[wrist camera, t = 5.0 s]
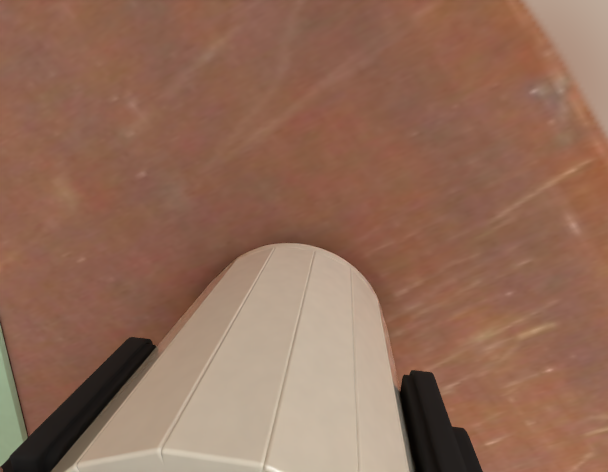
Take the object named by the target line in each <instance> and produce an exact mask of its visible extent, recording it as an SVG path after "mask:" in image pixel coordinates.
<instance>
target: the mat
mask: <svg viewBox="0 0 608 472" xmlns="http://www.w3.org/2000/svg"><path fill="white" fill-rule="evenodd" d="M27 438H28V436H27V432H26V428H25V424H24V420H23V416H22V412H21V407H20V403H19V399H18V395H17V391H16V387H15V383H14V379H13V375H12V370H11V366H10V362H9V358H8V354H7V350H6V346H5V342H4V337H3V333H2V329H1V325H0V467H1V466H2V465H3V464H4V463H5V462H6V461H7V460H8V459H9V458H10V455H11V454H12V453H13V452H14V451H15V450H16V449H17V448H18V447H19V446H20V445H21V444H22V443H23V442H24V441H25V440H26V439H27Z"/></svg>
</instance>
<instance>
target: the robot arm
mask: <svg viewBox="0 0 608 472" xmlns="http://www.w3.org/2000/svg"><path fill="white" fill-rule="evenodd" d="M155 348H156V345H153V344H152V341H151V340H150V339H144V338H135V337H130V338H129V339H127V340H126V341H125V342H124V343H123V344H122V345H121V346H120V347H119V348H118V349H117V350H116V351H115V352H114V353H113V354H112V355H111V356H110V357H109V358H108V359H107V360H106V361H105V362H104V363H103V364H102V365H101V366H100V367H99V368H98V369H97V370H96V371H95V372H94V373H93V374H92V375H91V376H90V377H89V378H88V379H87V380H86V381H85V382H84V383H83V384H82V385H81V386H80V387H79V388H78V389H77V390H76V391H75V392H74V393H73V394H72V395H71V396H70V397H69V398H68V399H67V400H66V401H65V402H64V403H63V404H62V405H61V406H60V407H59V408H58V409H57V410H55V411H54V412H53V413H52V414H51V415H50V416H49V417H48V418H47V419H46V420H45V421H44V422H43V423H42V424H41V425H40V426H39V427H38V428H37V429H36V430H35V431H34V432H33V433H32V434H31V435H30V436H29V437H28V438H27V439H26V440H25V441H24V442H23V443H22V444H21V445H20V446H19V447H18V448H17V449H16V450H15V451H14V452H13V453H12V454H11V455H10V458H9V459H8V460H7V461H6V462H5V463H4V464H3V465H2V466H1V467H0V472H51V471H52V470H53V468H54V467H55V466H56V465H57V464H58V463H59V461H60V460H61V459H62V458H63V457H64V455H65V454H66V453H67V452H68V451H69V450H70V448H71V447H72V446H73V445H74V444H75V442H76V441H77V440H78V439H79V438H80V437H81V435H82V434H83V433H84V432H85V431H86V429H87V428H88V427H89V426H90V425H91V424H92V422H93V421H94V420H95V419H96V418H97V416H98V415H99V414H100V413H101V412H102V411H103V409H104V408H105V407H106V406H107V405H108V403H109V402H110V401H111V400H112V399H113V398H114V396H115V395H116V394H117V393H118V392H119V390H120V389H121V388H122V387H123V386H124V385H125V383H126V382H127V381H128V380H129V379H130V377H131V376H132V375H133V374H134V373H135V372H136V370H137V369H138V368H139V367H140V366H141V364H142V363H143V362H144V361H145V360H146V359H147V357H148V356H149V355H150V354H151V353H152V351H153V350H154V349H155ZM400 393H401V398H402V403H403V408H404V413H405V417H406V422H407V427H408V432H409V437H410V442H411V447H412V452H413V456H414V461H415V466H416V471H417V472H483V471H482V469H481V466H480V464H479V461H478V459H477V456H476V454H475V451H474V448H473V446H472V443H471V441H470V438H469V436H468V434H467V432H466V431H465V430H464V429H463V428H458V427H452V426H451V423H450V420H449V417H448V415H447V412H446V409H445V406H444V403H443V400H442V397H441V395H440V392H439V389H438V386H437V383H436V380H435V377H434V375H433V373H431V372H423V371H415V370H412V371H411V372H410V375H404V376H403V379H402V385H401V391H400Z"/></svg>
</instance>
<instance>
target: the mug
mask: <svg viewBox="0 0 608 472" xmlns="http://www.w3.org/2000/svg"><path fill="white" fill-rule="evenodd" d="M51 472H417V471H416V466H415V461H414V456H413V452H412V447H411V442H410V437H409V432H408V427H407V422H406V417H405V413H404V408H403V403H402V398H401V393H400V388H399V383H398V378H397V373H396V369H395V364H394V359H393V354H392V349H391V344H390V339H389V334H388V330H387V326H386V323H385V320H384V316H383V312H382V308H381V305H380V302H379V300H378V297H377V295H376V293H375V292H374V290H373V288H372V286H371V285H370V284H369V282H368V281H367V280H366V279H365V277H364V276H363V275H362V274H361V273H360V272H359V271H358V270H357V269H356V268H355V267H353V266H352V265H351V264H350V263H348V262H347V261H346V260H344V259H342V258H341V257H339V256H337V255H335V254H333V253H331V252H329V251H326V250H324V249H321V248H318V247H314V246H311V245H305V244H298V243H279V244H271V245H267V246H262V247H259V248H256V249H254V250H251V251H249V252H247V253H245V254H243V255H241V256H239V257H238V258H237V259H235V260H234V261H233V262H231V263H230V264H229V265H228V266H227V267H226V268H225V269H224V270H223V271H222V272H221V273H220V274H219V275H218V276H217V277H216V278H215V279H213V280H212V282H211V283H210V284H209V285H208V286H207V288H206V289H205V290H204V291H203V292H202V293H201V295H200V296H199V297H198V298H197V299H196V301H195V302H194V303H193V304H192V305H191V306H190V308H189V309H188V310H187V311H186V312H185V314H184V315H183V316H182V317H181V318H180V319H179V321H178V322H177V323H176V324H175V325H174V327H173V328H172V329H171V330H170V331H169V333H168V334H167V335H166V336H165V337H164V338H163V340H162V341H161V342H160V343H159V344H158V346H157V347H156V348H155V349H154V350H153V351H152V353H151V354H150V355H149V356H148V357H147V359H146V360H145V361H144V362H143V363H142V364H141V366H140V367H139V368H138V369H137V370H136V372H135V373H134V374H133V375H132V376H131V377H130V379H129V380H128V381H127V382H126V383H125V385H124V386H123V387H122V388H121V389H120V390H119V392H118V393H117V394H116V395H115V396H114V398H113V399H112V400H111V401H110V402H109V403H108V405H107V406H106V407H105V408H104V409H103V411H102V412H101V413H100V414H99V415H98V416H97V418H96V419H95V420H94V421H93V422H92V424H91V425H90V426H89V427H88V428H87V429H86V431H85V432H84V433H83V434H82V435H81V437H80V438H79V439H78V440H77V441H76V442H75V444H74V445H73V446H72V447H71V448H70V450H69V451H68V452H67V453H66V454H65V455H64V457H63V458H62V459H61V460H60V461H59V463H58V464H57V465H56V466H55V467H54V468H53V470H52V471H51Z"/></svg>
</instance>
